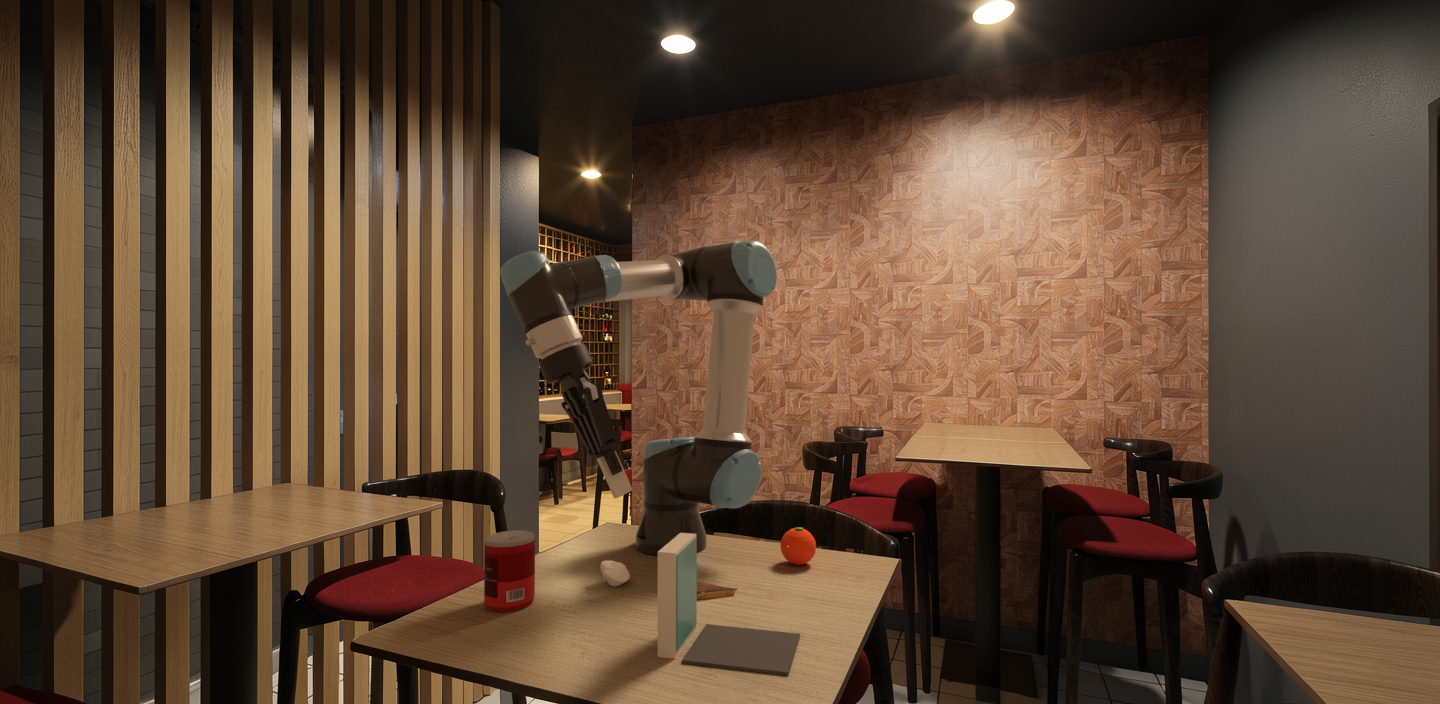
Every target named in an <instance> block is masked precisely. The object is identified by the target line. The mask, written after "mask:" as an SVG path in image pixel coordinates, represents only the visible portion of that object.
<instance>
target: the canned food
mask: <svg viewBox="0 0 1440 704" xmlns="http://www.w3.org/2000/svg"><path fill="white" fill-rule="evenodd" d="M483 551H484V552H483V553H484V555H483V556H484V557H483V560H484V561H483V562H484V564H483V565H484V566H483V567H484V569H483V570H484V571H483V572H484V573H483V574H484V577H483V579H484V581H483V582H484V586H483V587H484V588H483V589H484V590H483V591H484V592H483V593H484V594H483V597H484V600H483V601H484V606H485V608H486V609H487V611H489V612H492V611H493V612H492V613H512V612H511V611H513V612H517V611H520V609H521V610H523V608H524V609H526V608H529V606H531V605H532V604H533V602H534V599H535V589H536V588H535V587H536V585H535V582H536V579H535V578H536V570H535V569H536V535H535V533H534V532H531V531H528V530H505V531H500V532H495V533H492V534H490V535H488V536H486V537H484V550H483Z"/></svg>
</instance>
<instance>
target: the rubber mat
mask: <svg viewBox="0 0 1440 704" xmlns="http://www.w3.org/2000/svg"><path fill="white" fill-rule="evenodd" d="M800 639H801V633H797V632H786V631H779V630H778V631H777V630H769V629H768V630H767V629H757V628H747V627H739V626H738V627H737V626H730V625H729V626H728V625H719V624H708V623H706V624H705V625H704V626H703V628H702V630H701V631H700V632H699V634H698V636H697V637H696V638H695V640H694V641H693V643H692V644H691V646H690V647H689V649H688V650H687V652H686V653H685V655H684V657H683V658H682V659H681V663H682V664H688V665H694V666H695V665H696V666H704V667H713V668H720V669H729V670H736V671H737V670H738V671H746V672H755V673H763V674H771V675H772V674H773V675H780V676H789V675H790V671H791V668H792V664H793V661H794V658H795V655H796V651H797V649H798V644H799V641H800Z"/></svg>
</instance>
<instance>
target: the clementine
mask: <svg viewBox="0 0 1440 704" xmlns="http://www.w3.org/2000/svg"><path fill="white" fill-rule="evenodd" d="M816 542H817V541H816V540H815V537H814V536H813V535H812V534H811V532H809V531H808V529H805V528H804V527H800V526H799V527H798V526H797V527H794V528H791V529H789V530H787V531H786V532H785V533H784V534H783V536H782V538H781V540H780V546H779V547H780V552H781V553H782V556H783V557H784V559H785V560H786V561H787V562H789V563H790V564H793V565H798V566H801V565H806V564H808V563H809V562H810V561H812V559H813V558H814V557H815V554H816V550H817V543H816ZM787 546H789V547H787Z"/></svg>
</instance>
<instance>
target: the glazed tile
mask: <svg viewBox="0 0 1440 704" xmlns="http://www.w3.org/2000/svg"><path fill="white" fill-rule="evenodd" d="M697 557H698V555H697V537H696V534H690V533H679V534H678V535H677V536H676V537H675V538H674V539H672V540H671V541H670V542H669V543H668V544H666V545H665V546H664V547H663V548H662V549H661V550H659V551H658V555H657V658H665V659H673V660H676V659H677V657H678V656H679V655H680V653H681V651H682V650H683V648H684V647H685V646H686V644H687V643H688V641H689V640H690V639H691V638H692V636H693V634H694V633H695V631H696V630H697V625H698V624H697V616H698V615H697V612H698V611H697V610H698V609H697V606H698V605H697V601H698V599H697V582H698V580H697V579H698V578H697V577H698V576H697V571H698V570H697V568H698V567H697V566H698V565H697V564H698V563H697Z"/></svg>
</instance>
